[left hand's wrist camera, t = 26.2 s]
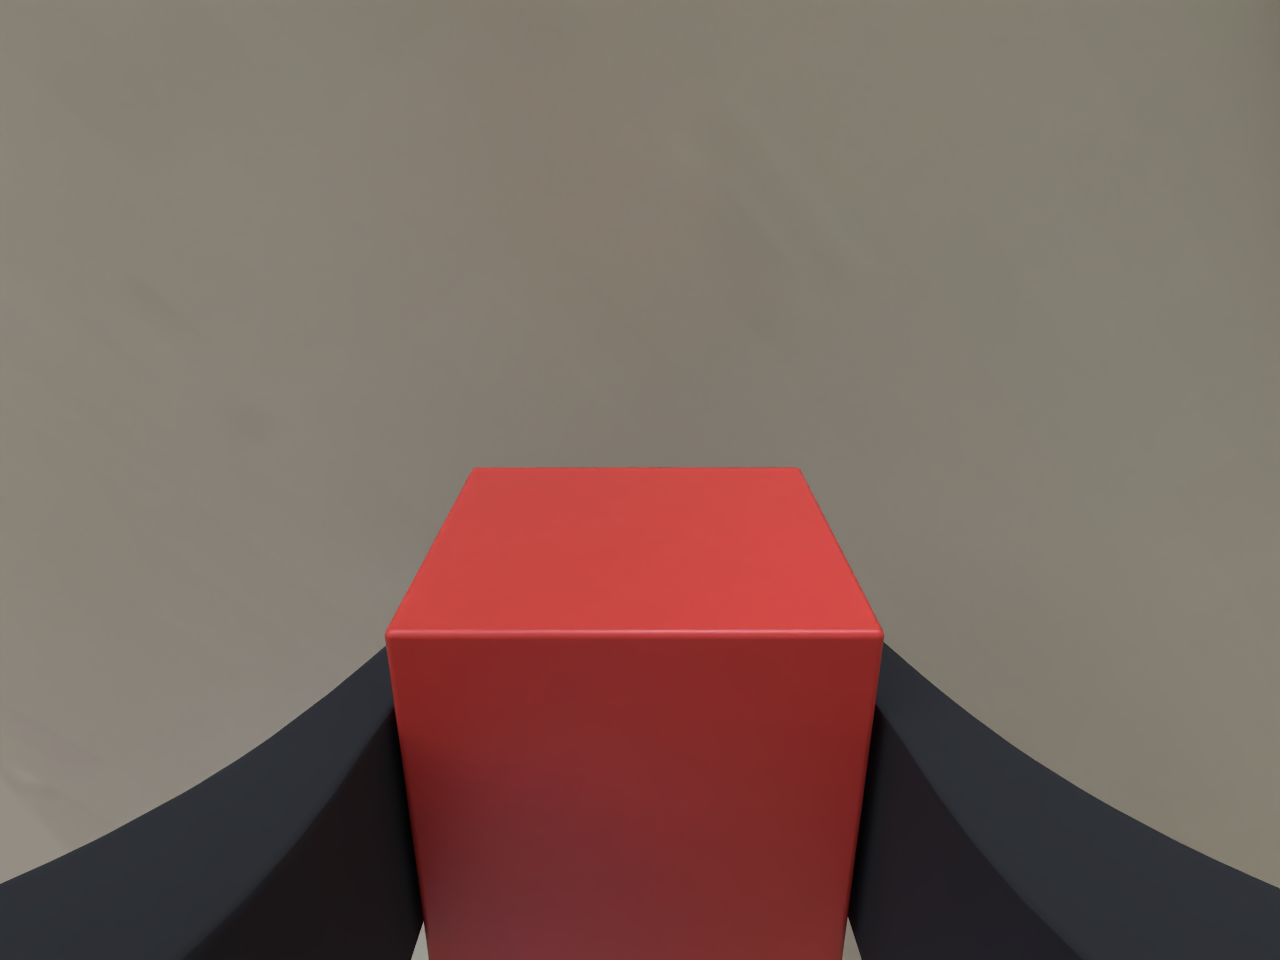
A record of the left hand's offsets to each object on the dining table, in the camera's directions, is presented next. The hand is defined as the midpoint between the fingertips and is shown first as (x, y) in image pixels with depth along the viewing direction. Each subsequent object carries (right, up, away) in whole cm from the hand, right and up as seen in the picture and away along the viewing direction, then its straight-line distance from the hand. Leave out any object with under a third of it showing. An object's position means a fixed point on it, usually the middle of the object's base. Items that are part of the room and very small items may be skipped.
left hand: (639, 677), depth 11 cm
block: (0, +1, +1) cm, 2 cm away
